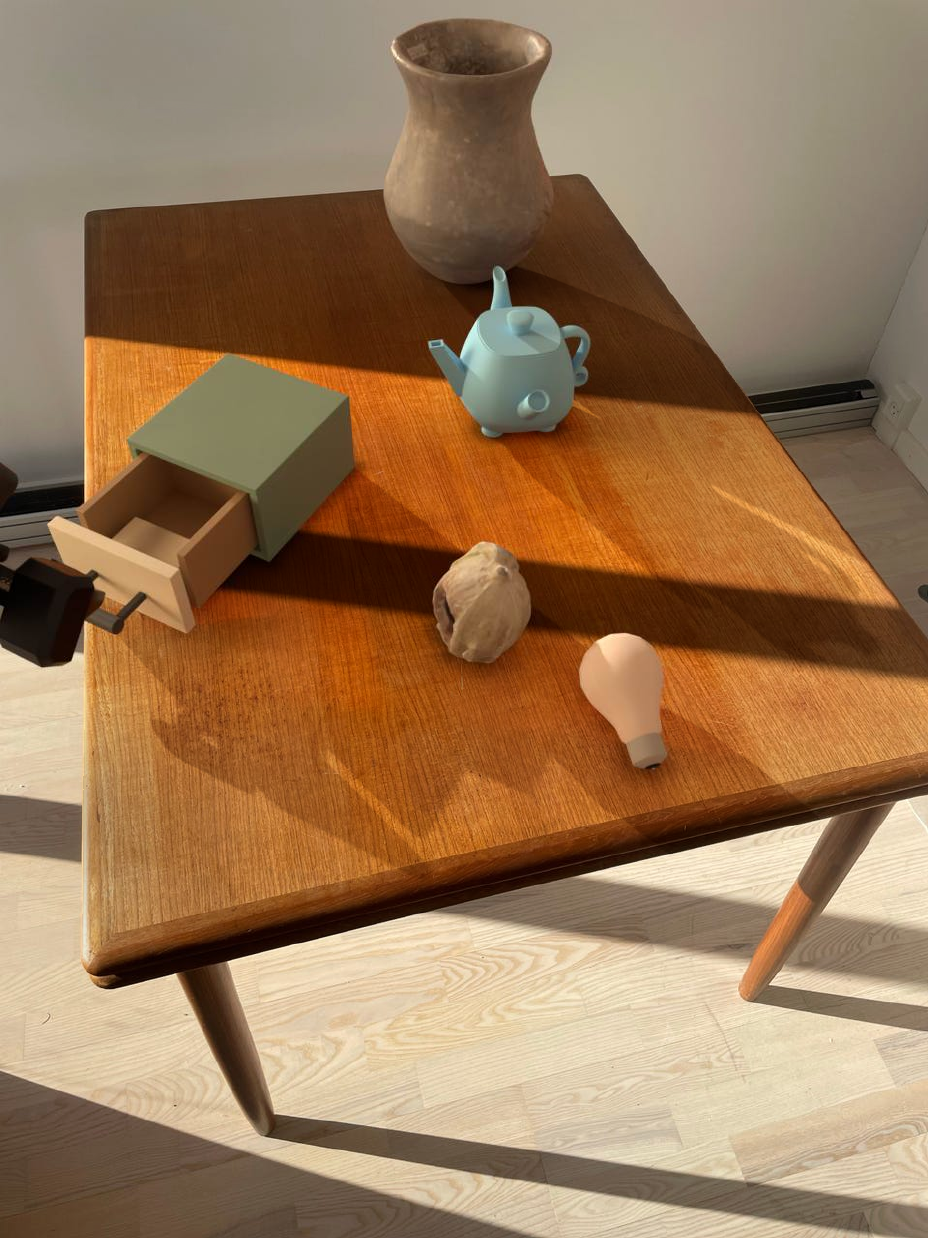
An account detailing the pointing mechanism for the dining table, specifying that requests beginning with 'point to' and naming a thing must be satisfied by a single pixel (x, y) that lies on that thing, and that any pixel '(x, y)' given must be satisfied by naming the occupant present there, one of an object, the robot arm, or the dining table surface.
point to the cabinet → (257, 441)
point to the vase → (469, 148)
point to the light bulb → (627, 693)
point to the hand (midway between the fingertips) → (53, 575)
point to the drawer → (172, 503)
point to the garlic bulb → (482, 604)
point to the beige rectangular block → (152, 541)
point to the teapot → (515, 366)
